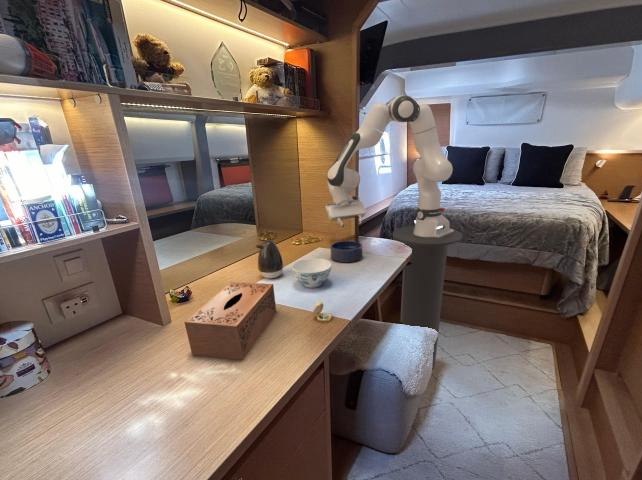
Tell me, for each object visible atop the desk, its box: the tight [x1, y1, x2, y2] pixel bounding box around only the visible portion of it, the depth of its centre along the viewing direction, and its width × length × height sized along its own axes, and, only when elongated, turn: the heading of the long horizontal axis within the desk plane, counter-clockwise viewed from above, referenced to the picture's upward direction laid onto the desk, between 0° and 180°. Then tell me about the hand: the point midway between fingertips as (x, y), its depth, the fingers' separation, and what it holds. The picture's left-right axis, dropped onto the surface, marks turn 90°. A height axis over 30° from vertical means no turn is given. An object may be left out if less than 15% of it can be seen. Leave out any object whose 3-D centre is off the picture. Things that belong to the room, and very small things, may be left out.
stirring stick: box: [354, 215, 361, 243], centre depth 166 cm, size 3×3×16 cm
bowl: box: [329, 240, 363, 263], centre depth 154 cm, size 14×14×6 cm
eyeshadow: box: [312, 301, 332, 323], centre depth 104 cm, size 4×5×5 cm
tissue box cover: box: [184, 281, 277, 361], centre depth 98 cm, size 26×14×10 cm, turn 168°
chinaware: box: [291, 257, 333, 288], centre depth 128 cm, size 15×15×8 cm
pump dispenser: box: [255, 239, 285, 279], centre depth 136 cm, size 10×10×15 cm
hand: (351, 225), depth 170 cm, fingers open, 8 cm apart
